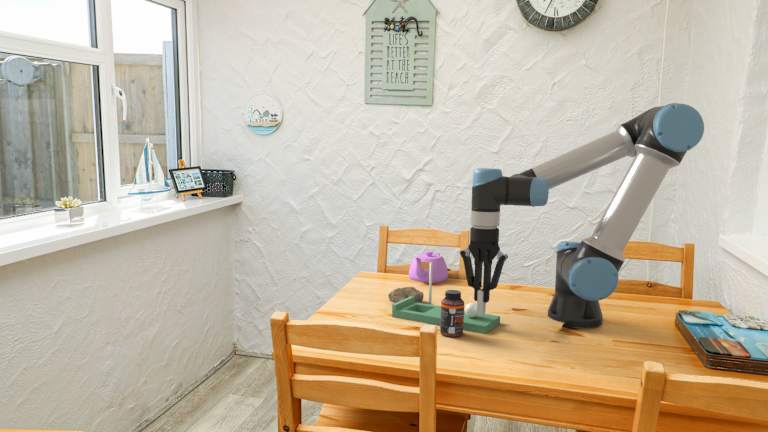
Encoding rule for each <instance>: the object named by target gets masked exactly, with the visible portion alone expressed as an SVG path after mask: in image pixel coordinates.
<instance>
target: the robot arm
mask: <svg viewBox="0 0 768 432" xmlns="http://www.w3.org/2000/svg"><path fill="white" fill-rule="evenodd" d="M704 133H705V122H704V120H703V117H702V115H701V114H700V112H699V111H698V110H697V109H696V108H694V107H693V106H691V105H690V104H685V103H679V102H675V103H674V102H671V103H667V104H665V105H661V106H654V107H651V108H650V109H648V110H645V111H644V112H642V113H640V114H638V115H637V116H635V117H634V118H632V119H630V120H628V121H625V122H624V123H621V124H620V125H619V124H618V126H617V128H616V130H615V131H612V132H611V133H607V134H605V135H603V136H601V137H598V138H596V139H594V140H592V141H590V142H588V143H585V144H583V145H581V146H578V147H577V148H574V149H572V150H570V151H567V152H565V153H562V154H560V155H559V156H555V157H553V158H551V159H549V160H547V161H545V162H543V163H540V164H538V165H536V166H535V165H534V167H531V168H529V169H526V170H524V171H522V172H520V173H515V174H513V175H511V176H504V175H503V171H502V170H501V169H500V168H489V167H488V168H487V167H486V168H483V167H481V168H480V167H479V168H476V169H474V171H473V174H472V183H471V208H470V209H471V211H470V212H471V214H470V225H471V227H470V229H469V230H470V232H469V233H470V234H469V236H470V237H469V244H468V246H467V248H465V249H463V250H461V251H459V255H460V256H461V258H462V260H463V267H464V272H465V276H466V282H467V286H468V287H471V288H473V290H474V292H473V297H474V298H473V300H474V302H476V304H477V314H479V315H483V314H486V308H487V306H486V305H487V303H488V302H490V297H491V295H490V292H491V291H493V290H495V289H496V288H497V287H498V286H499V285H498V283H499V282H500V277H501V274H502V271H503V267H504V264H505V262H506V261H507V259H508V258H509V256H508V254H504V253H503V252H502V251H501V248H500V246H499V241H500V239H499V238H500V229H499V226H500V222H501V221H500V218H501V206H522V207H523V206H524V207H532V208H535V207H545V206H546V205H547V204H548V200H549V195H550V194H549V193H550V190H551V189H553V188H556V187H558V186H560V185H563V184H565V183H568V182H570V181H571V180H575V179H576V178H579V177H581V176H584V175H586V174H588V173H591V172H593V171H596V170H598V169H600V168H602V167H605V166H607V165H609V164H612V163H614V162H617V161H619V160H620V159H623V158H625V157H630V158H633V159H632V162H631V164H630V166H628V169H627V171H626V173H625V175H624V176H623V178H622V179H621V182H620V183H619V185H618V186H617V188H616V191H615V193H613V196H612V197H611V200H610V202H609V204H608V205H607V207H606V208H605V210H604V212H603V214H602V215H601V218H600V220H599V221H598V223H597V225H596V227H595V228H594V230H593V232H592V234H591V235H590V236H588V237H586V238H585V237H584V238H582V240H581V241H561V242H558V244H557V247H556V252H555V254H556V261H555V262H556V263H555V283H554V288H555V289H554V294H553V297H552V299H551V302H550V304H549V306H548V309H547V317H548V318H549V319H552V320H553V321H556V322H559V323H563V324H562V327H567V328H572V329H573V328H574V329H594V328H598V327H599V328H600V327H601V326H602V325H603V323H604V322H603V320H604V319H603V317H604V316H603V311H602V308H601V306H600V302H599V301H602V300H604V299H607V298H609V297H610V296H611V295H612V294H614V293H615V290H616V289H617V288H618V285H619V271H620V270H621V268H622V266H623V265H624V262H625V258H624V254H623V253H624V250H625V248H626V247H627V245H628V243H629V241H630V239H631V238H632V236H633V234H634V232H635V230H636V229H637V227H638V225H639V223H640V221H642V218H643V216H644V215H645V213H646V211H647V209H648V207H649V206H650V204H651V203H652V200H653V198H654V197H655V195H656V194H657V192H658V190H659V188H660V186H661V185H662V183H663V181H664V180H665V177H666V175H667V174H668V172H669V170H670V169H673V168H675V167H679V166H680V164H681V162H682V161H683V159H684V157H685V155H686V153H687V152H688V151H691V150H692V149H694V148H695V147H696V146H698V144H699V143H700V142H701V140H702V138H703V137H704ZM471 256H472V257H473V261H474V263H473V262H472V258H471ZM495 258H496V259H497V261H496V264H495V268H494V270H493V274H492V266H493V260H495ZM473 264H474V268H473ZM482 280H483V281H482ZM482 282H483V284H482Z"/></svg>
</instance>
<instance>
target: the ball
mask: <svg viewBox="0 0 768 432" xmlns="http://www.w3.org/2000/svg"><path fill="white" fill-rule="evenodd" d="M464 310H465V314H466V315H467V316H468V317H470V318H474V317H476V316H477V315H478V314H477V303H474V302H469V303H467V304H466V305H465V306H464Z"/></svg>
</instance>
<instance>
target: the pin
mask: <svg viewBox="0 0 768 432" xmlns="http://www.w3.org/2000/svg"><path fill="white" fill-rule="evenodd" d="M421 269H426V270H430V272H429V283H428V286H429V287H428V304H430V305H432V299H433V298H432V297H433V295H432V294H433V283H432V262H423V261H421Z"/></svg>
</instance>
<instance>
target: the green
mask: <svg viewBox="0 0 768 432" xmlns="http://www.w3.org/2000/svg"><path fill="white" fill-rule="evenodd" d="M391 306H392V307H391V309H392V310H391V312H392V313H391V317H392V318H399V319H404V320H408V321H415V322H420V323H426V324H429V325H435V324H437V325H436V326H440V324H441V305H435V304H431V305H430V304H429V303H423V302H420V303H418V302H414V297H411V296H410V297H408V298H406V299H404V300H401V301H399V302H397V303H393V304H392V305H391ZM500 323H501V316H500V315H495V314H489V313H484V314H483V315H479V314H478V315H477V316H476V317H474V318H470V317H468V316H467V315H466V314H465V309H464V323H463V331H469V332H473V333H481V334H485V335H486V334H487V333H489V332H490V331H491V330H493V329H494V328H496V326H498V325H500Z"/></svg>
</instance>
